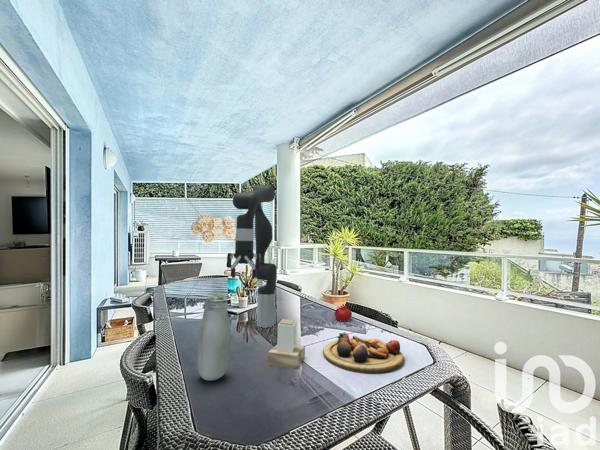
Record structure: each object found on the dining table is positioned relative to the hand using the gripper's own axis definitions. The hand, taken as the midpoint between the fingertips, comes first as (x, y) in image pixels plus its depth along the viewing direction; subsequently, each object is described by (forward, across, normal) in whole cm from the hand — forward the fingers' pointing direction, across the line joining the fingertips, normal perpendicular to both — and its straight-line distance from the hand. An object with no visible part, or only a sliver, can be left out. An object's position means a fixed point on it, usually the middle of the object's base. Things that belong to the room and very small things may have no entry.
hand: (243, 278), depth 123 cm
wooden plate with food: (+31, -50, -2) cm, 59 cm away
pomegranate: (+30, -45, -52) cm, 76 cm away
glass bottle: (+30, +3, +24) cm, 39 cm away
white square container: (+26, -20, +7) cm, 33 cm away
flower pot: (+30, +14, -11) cm, 35 cm away
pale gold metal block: (+30, -20, +7) cm, 37 cm away
